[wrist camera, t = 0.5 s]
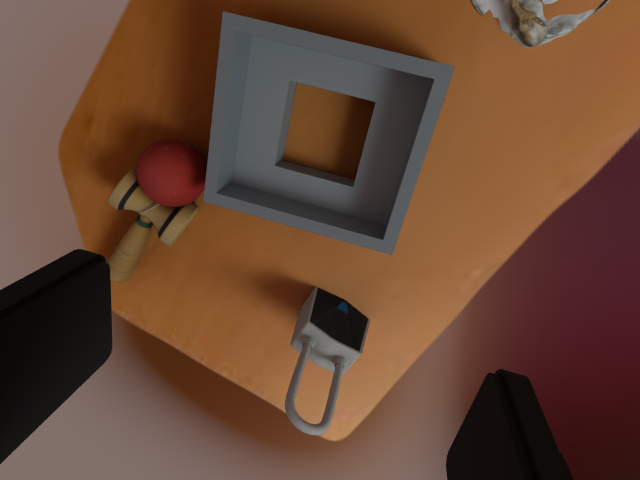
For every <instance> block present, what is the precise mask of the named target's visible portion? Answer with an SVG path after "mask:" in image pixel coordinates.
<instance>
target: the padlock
mask: <svg viewBox="0 0 640 480" xmlns="http://www.w3.org/2000/svg"><path fill="white" fill-rule="evenodd" d="M369 323H370V320H369V319H368V318H367V317H366V316H364V315H363V314H362V313H361V312H359V311H358V310H357V309H356V308H354V307H353V306H352V305H351V304H350V303H348V302H347V301H346V300H344V299H342V298H339V297H337V296H335V295H333V294H331V293H329V292H326V291H324V290H322V289H320V288H317V287H315V288H314V290H313V291H312V293H311V294H310V296H309V297H308V298H307V300H306V301H305V303H304V304H303V306H302V307H301V309H300V312H299V316H298V319H297V323H296V326H295V330H294V333H293V337H292V340H291V346H292V347H293V348H294V349H296V350H297V351H298V352H300V356H299V359H298V362H297V365H296V367H295V370H294V373H293V376H292V379H291V382H290V385H289V388H288V392H287V396H286V400H285V410H286V413H287V416H288V417H289V419H290V421H291V422H292V423H293V424H294V425H295V426H296V427H297V428H298V429H299V430H301V431H302V432H304V433H307V434H311V435H319V434H322V433H324V432H325V431H326V430H327V429H328V427H329V425H330V423H331V420H332V416H333V413H334V409H335V404H336V400H337V395H338V390H339V386H340V381H341V376H343V375H344V374H345V372H346V371H347V370H348V369H349V368H350V366H351V365H352V364H353V363H354V362H355V360H356V359H357V358H358V357H359V356H360V355H361V353H362V350H363V346H364V342H365V339H366V335H367V331H368V327H369ZM307 358H308V359H309V360H310V361H312V362H313V363H315V364H316V365H318V366H320V367H322V368H325V369H327V370H329V371H331V372H333V373H334V375H333V380H332V384H331V388H330V392H329V396H328V400H327V404H326V408H325V412H324V415H323V418H322V421H321V422H320V423H319V424H310V423H308V422H306V421H304V420H303V419H302V418H301V417H300V416H299V415H298V413H297V412H296V410H295V406H294V402H295V397H296V393H297V389H298V386H299V382H300V379H301V376H302V373H303V370H304V367H305V363H306V360H307Z"/></svg>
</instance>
